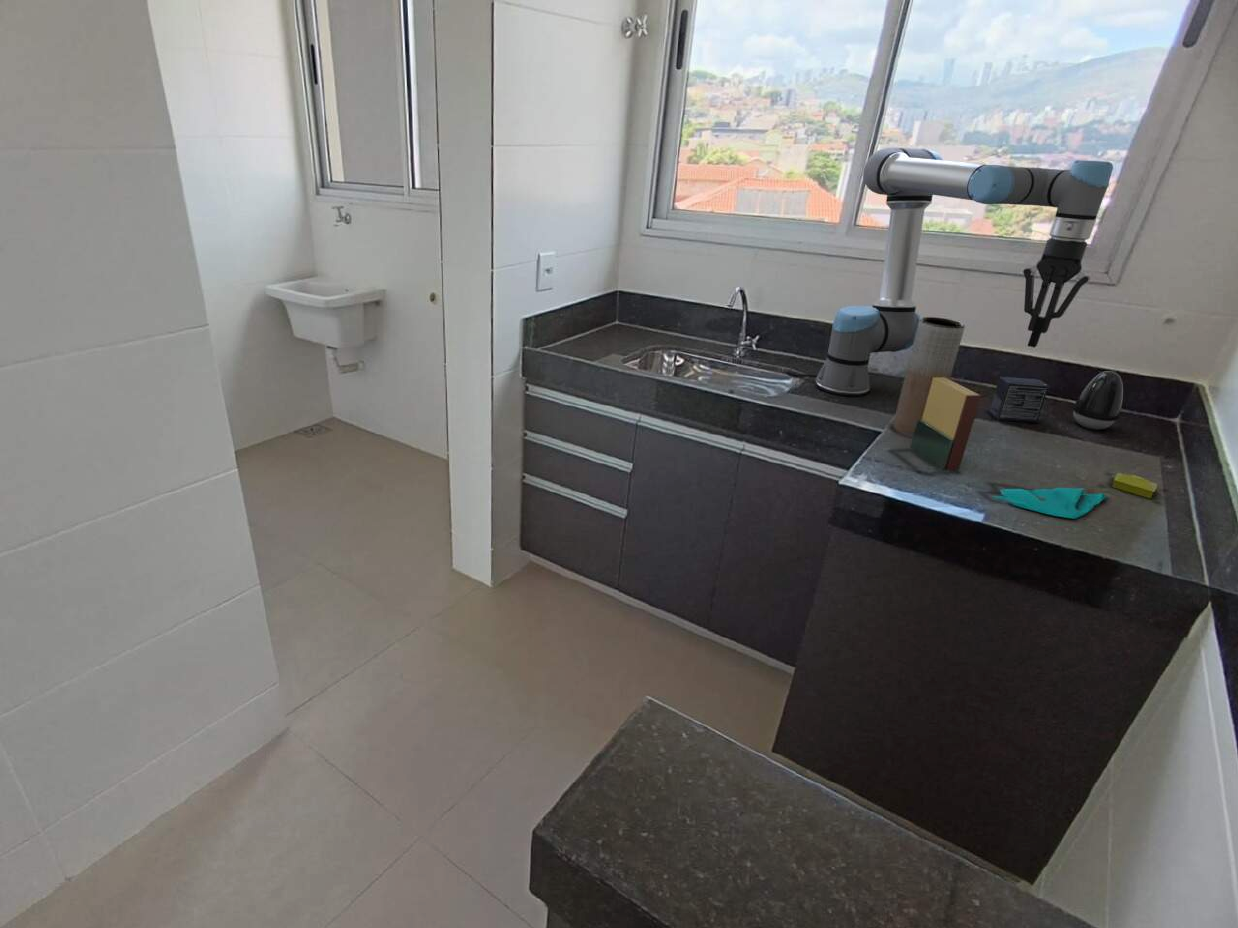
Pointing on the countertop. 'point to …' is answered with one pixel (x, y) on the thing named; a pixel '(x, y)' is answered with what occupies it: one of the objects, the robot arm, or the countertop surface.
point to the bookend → (931, 444)
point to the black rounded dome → (1100, 401)
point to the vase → (927, 367)
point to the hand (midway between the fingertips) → (1032, 345)
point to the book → (951, 415)
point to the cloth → (1053, 500)
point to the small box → (1018, 399)
